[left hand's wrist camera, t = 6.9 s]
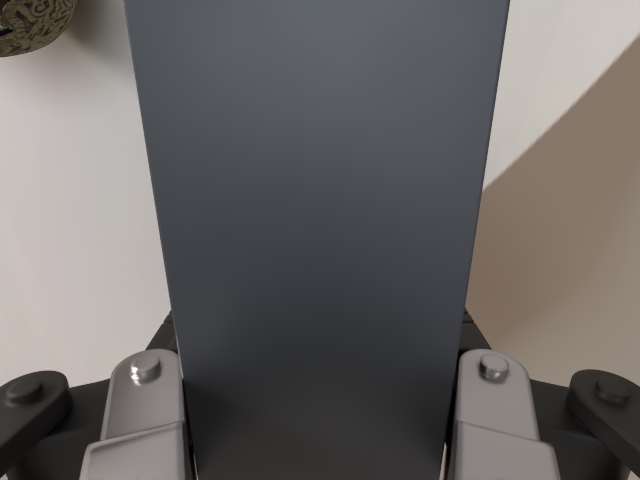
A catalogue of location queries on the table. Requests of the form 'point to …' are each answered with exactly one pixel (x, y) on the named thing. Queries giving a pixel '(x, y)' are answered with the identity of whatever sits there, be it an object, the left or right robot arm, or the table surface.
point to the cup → (32, 24)
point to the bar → (317, 221)
